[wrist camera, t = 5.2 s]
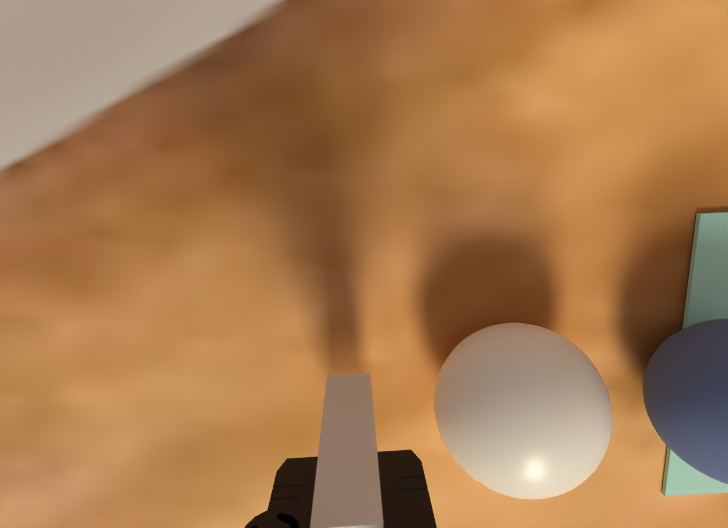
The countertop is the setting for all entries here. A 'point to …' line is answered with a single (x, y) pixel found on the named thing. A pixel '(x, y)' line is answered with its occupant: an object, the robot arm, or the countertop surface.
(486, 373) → the cue ball
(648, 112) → the countertop surface
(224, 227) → the countertop surface
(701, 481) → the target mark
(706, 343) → the object ball
